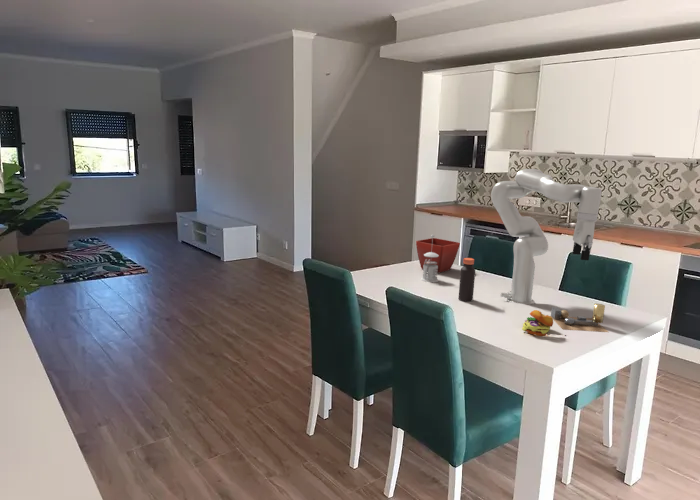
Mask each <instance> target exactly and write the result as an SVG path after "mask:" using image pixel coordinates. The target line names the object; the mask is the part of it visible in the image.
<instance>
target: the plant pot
mask: <svg viewBox="0 0 700 500" xmlns="http://www.w3.org/2000/svg"><path fill="white" fill-rule="evenodd" d="M460 244H461V243H460V242H458V241H452V240H448V239H442V238H437V237H433V242H432V237H431V238H426V239H425V238H424V239H419V240H415V245H416V251H417V253H416V254H417V258H418V262H419V264H420V268H421V269H422V270H423V265H424V262H425V260H426V261H428V260H429V259H430V261H435V262H437V264H436V265H438V269H436V270H437V271H436V272H437V274H438V273H439V274H440V273H443V272H448V271H450V270H451V269H452V267H453V264H454V263H455V259H456V257H457V255H458V252H459V248H460ZM431 250H432V252H433V253H436V254H438V255H439V256H438V257H434V258H431V257H425V256H424V254H426V253H429V252H431ZM427 269H428V268H427Z"/></svg>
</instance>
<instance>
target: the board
mask: <svg viewBox="0 0 700 500" xmlns="http://www.w3.org/2000/svg"><path fill="white" fill-rule="evenodd" d="M549 316H550V317H551V315H549ZM568 318H573V319H577V316H568ZM552 319H553V318H552ZM586 320H592V317H586ZM553 322H555V323H556V324H557V325H558V326H559V327H560V329H561V330H565V331H577V332H578V331H579V332H580V331H581V332H596V333H597V332H598V333H609V330H607V329H606V328H605V327H604V326H602V325H601V323H598V325H581V324H575V325H566V324H565V323H564V322H565V319H563V318H560V320H554V319H553Z"/></svg>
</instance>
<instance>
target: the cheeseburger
mask: <svg viewBox="0 0 700 500" xmlns="http://www.w3.org/2000/svg"><path fill="white" fill-rule="evenodd" d="M529 315H530V316H528V317H526V319H525V320H524V322H523V323H522V328H521V330H522V331H523V333H524V334H529V335H534V336H537V337H544V336H546V335H547V334H548V332H549V331H550V330H551V328H552V327H553V325H554V320H553V319H552V317H550V316H551V315H549V314H547V315H545V314H543V313H542V312H541V311H540V310H537V309H534V310H532V311H531V312H530V313H529Z"/></svg>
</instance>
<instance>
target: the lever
mask: <svg viewBox="0 0 700 500" xmlns="http://www.w3.org/2000/svg"><path fill="white" fill-rule="evenodd" d="M605 308H606V305H605V304H602V303H594V304H593V312H592V317H591V318H592V320H586V318H587V317H586V316H581V315H578V316H576V317H577V319H573V318H565V322H564V323H565V324H566V325H575V324H581V325H598V323H599V324H603V322H604V315H605V311H606V310H605Z"/></svg>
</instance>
